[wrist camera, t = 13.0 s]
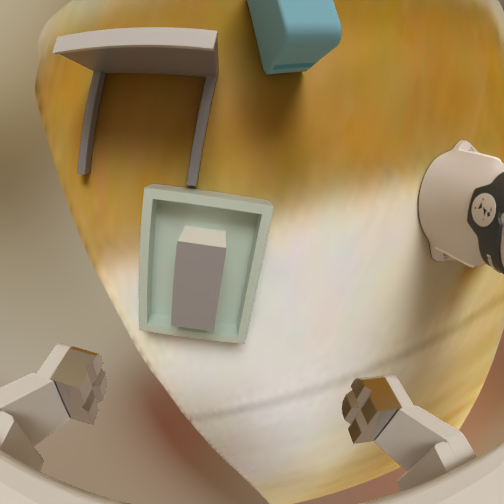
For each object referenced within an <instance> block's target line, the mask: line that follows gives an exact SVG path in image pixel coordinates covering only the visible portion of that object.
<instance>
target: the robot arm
mask: <svg viewBox="0 0 504 504" xmlns="http://www.w3.org/2000/svg"><path fill="white" fill-rule="evenodd" d="M419 217H420V222H421V225H422V228H423V231H424V233H425V235H426V236H427V238H428V240H429V242H430V248H431V255H432V258H433V259H434V260H436V261H439V262H440V261H450V260H458V261H460V262H462V263H463V264H465V265H467V266H469V267H472V268H474V267H475V266H481V265H484V264H487V265H489V266H491V267H492V268H493V269H494V270H496V271H497V272H499V273H500V272H501V273H503V274H504V164H503V163H502V162H501V160H500V159H499V158H497V157H493V156H489V155H485V154H481V153H479V152H478V151H477V150H476V149H475V148H474V147H473V146H472V145H471V144H470V143H469V142H468V141H465V140H460V141H459V142H458V143H457V144H456V145H455V147H454V148H453V149H452V150H451V151H449V152H446V153H444V154H442V155H440V156H439V157H437V158H436V159H435V160H434V161H433V162H432V164H431V165H430V167H429V168H428V170H427V172H426V174H425V176H424V179H423V182H422V185H421V189H420V195H419ZM102 365H103V359H102V356H101V355H100V354H97V353H94V352H90V351H87V350H83V349H80V348H76V347H72V346H69V345H66V344H63V343H59V344H57V345H56V346H55V347H54V349H53V350H52V352H51V353H50V355H49V356H48V358H47V359H46V360H45V362H44V363H43V365H42V366H41V368H40V369H39V371H38V372H37V374H35V373H31V374H29V375H27V376H25V377H23V378H20V379H18V380H16V381H14V382H12V383H10V384H7V385H5V386H3V387H1V388H0V504H129V503H125V502H121V501H117V500H114V499H110V498H106V497H103V496H100V495H97V494H94V493H91V492H88V491H85V490H83V489H80V488H77V487H75V486H72V485H69V484H67V483H65V482H62V481H60V480H57V479H55V478H53V477H50V476H49V475H46V474H44V473H42V472H40V471H41V468H42V465H43V462H44V460H43V458H42V457H41V455H40V454H39V453H38V451H37V450H36V449H35V448H34V446H35V445H36V444H38V443H39V442H41V441H42V440H43V439H45V438H46V437H47V436H49V435H50V434H52V433H53V432H54V431H55V430H57V429H58V428H60V427H61V426H62V425H63V424H65V423H66V422H68V421H69V420H70V418H72V419H75V420H78V421H82V422H85V423H88V424H92V425H93V424H94V422H95V419H96V417H97V414H98V412H99V408H98V404H97V403H98V402H100V401H102V400H103V399H104V396H105V394H106V388H107V377H106V373H105V372H104V371H103V370H102V368H101V367H102ZM351 388H352V391H350V392H349V393H348V394H346V396H345V398H344V400H343V404H342V414H343V417H344V419H345V420H346V421H347V422H348V423H350V426H349V428H348V430H349V433H350V436H351V439H352V441H353V444H354V443H362V442H369V441H374V442H375V443H376V444H377V445H378V446H379V447H380V448H381V449H382V450H384V451H385V452H386V453H387V454H388V455H389V456H390V457H391V458H392V459H393V460H395V461H396V462H397V463H398V464H399V465H400V466H401V467H402V468H404V469H405V470H406V471H407V472H406V473H405V474H404V475H403V476H401V477H400V478H399V479H398V481H397V483H398V485H399V488H400V491H401V492H398V493H395V494H392V495H389V496H385V497H382V498H379V499H376V500H372V501H368V502H364V503H361V504H504V441H502V442H501V443H499V444H498V445H496V446H495V447H493V448H491V449H490V450H488V451H486V452H485V453H483V454H481V455H480V456H478V457H477V456H476V455H475V454H474V451H473V450H472V448H471V446H470V445H469V443H468V441H467V440H466V438H465V436H464V435H463V433H462V432H460V431H458V430H457V429H455V428H453V427H452V426H450V425H448V424H447V423H445V422H443V421H442V420H440V419H439V418H437V417H435V416H434V415H432V414H430V413H429V412H427V411H426V410H424V409H422V408H421V407H419V406H418V405H417V406H414V405H413V403H412V401H411V400H410V398H409V396H408V395H407V393H406V391H405V390H404V388H403V386H402V385H401V383H400V382H399V380H398V378H397V377H396V376H394V375H388V376H377V377H365V378H357V379H355V380H354V381H353V383H352V385H351Z"/></svg>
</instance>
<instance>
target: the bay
mask: <svg viewBox="0 0 504 504" xmlns="http://www.w3.org/2000/svg"><path fill="white" fill-rule="evenodd" d="M217 35H218V31H213V30H202V29H189V28H165V27H145V28H121V29H108V30H98V31H90V32H83V33H76V34H70V35H65V36H59V37H57V40H56V43H55V46H54V50H53V53H54V54H61V55H63V56H65V57H67V58H69V59H71V60H73V61H75V62H77V63H79V64H81V65H83V66H85V67H87V68H89V69H91V70H93V71H94V72H93V77H92V81H91V85H90V90H89V95H88V99H87V105H86V110H85V116H84V122H83V128H82V136H81V143H80V152H79V162H78V174H82V175H85V174H89V173H90V170H91V159H92V150H93V142H94V135H95V128H96V122H97V116H98V110H99V105H100V100H101V95H102V90H103V85H104V81H105V77H106V74H107V73H152V74H172V75H185V76H196V77H205V78H206V80H205V84H204V89H203V94H202V98H201V103H200V108H199V113H198V119H197V124H196V129H195V135H194V141H193V147H192V153H191V159H190V165H189V172H188V178H187V185H190V186H197V183H198V176H199V170H200V164H201V158H202V152H203V146H204V140H205V134H206V129H207V124H208V118H209V113H210V108H211V103H212V98H213V93H214V89H215V84H216V79H217V75H218V71H219V64H218V43H217Z"/></svg>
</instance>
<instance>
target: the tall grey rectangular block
mask: <svg viewBox="0 0 504 504" xmlns="http://www.w3.org/2000/svg"><path fill="white" fill-rule="evenodd" d="M225 255H226V231H221V230H214V229H207V228H200V227H192V226H185V227H184V229H183V231H182V233H181V235H180V237H179V239H178V242H177V246H176V257H175V268H174V281H173V295H172V312H171V326H177V327H184V328H191V329H199V330H207V331H214V327H215V320H216V313H217V307H218V300H219V293H220V287H221V280H222V274H223V268H224V261H225Z"/></svg>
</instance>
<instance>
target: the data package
mask: <svg viewBox="0 0 504 504" xmlns="http://www.w3.org/2000/svg"><path fill="white" fill-rule="evenodd" d="M247 3H248V7H249V11H250V15H251V19H252V23H253V27H254V31H255V36H256V40H257V44H258V49H259V53H260V58H261V62H262V66H263V70H264V72H265V73H266V74H268V75H269V74H278V73H289V72H303V71H307V70H308V69H309V68H310V67H312V66H313V65H314V64H315V63H316V62H318V61H319V60H320V59H321V58H322V57H324V56H325V55H326V54H327V53H329V52H330V51H331V50H332V49H334V48H335V47H336V46H337V45H338V44H339V42H340V40H341V24H340V21H339V17H338V14H337V11H336V8H335V5H334V2H333V0H247Z"/></svg>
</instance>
